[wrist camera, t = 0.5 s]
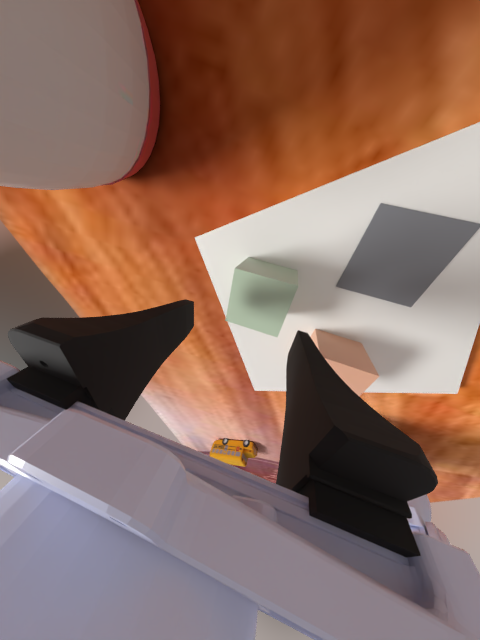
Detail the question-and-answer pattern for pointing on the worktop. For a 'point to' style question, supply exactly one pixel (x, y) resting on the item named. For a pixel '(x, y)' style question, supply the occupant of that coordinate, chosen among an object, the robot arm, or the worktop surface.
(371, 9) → the worktop surface
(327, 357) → the terracotta brick
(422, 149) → the baseplate
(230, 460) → the toy bus
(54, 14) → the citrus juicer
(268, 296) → the green brick
